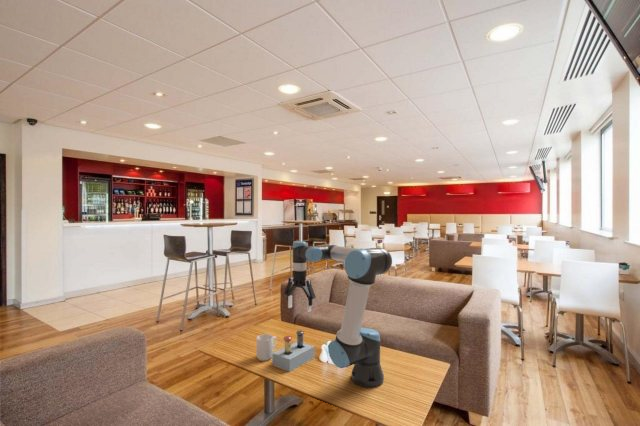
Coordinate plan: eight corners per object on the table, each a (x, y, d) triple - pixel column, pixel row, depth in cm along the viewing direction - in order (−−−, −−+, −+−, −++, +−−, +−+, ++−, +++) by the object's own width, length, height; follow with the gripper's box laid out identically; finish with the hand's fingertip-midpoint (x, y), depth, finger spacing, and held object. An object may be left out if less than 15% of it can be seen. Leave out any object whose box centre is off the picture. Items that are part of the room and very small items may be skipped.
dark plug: (305, 348, 174) (305, 331, 174) (300, 350, 170) (300, 333, 170) (299, 346, 176) (299, 330, 176) (294, 348, 173) (295, 332, 173)
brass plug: (293, 354, 166) (293, 337, 166) (287, 357, 162) (288, 339, 162) (287, 352, 168) (287, 335, 168) (282, 355, 165) (282, 337, 165)
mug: (263, 363, 167) (263, 341, 167) (253, 357, 173) (253, 337, 173) (280, 355, 175) (281, 335, 175) (270, 351, 181) (271, 331, 181)
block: (314, 357, 174) (314, 346, 174) (289, 371, 157) (289, 359, 158) (297, 351, 181) (297, 341, 181) (272, 364, 165) (272, 353, 165)
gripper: (322, 271, 169) (321, 311, 169) (287, 267, 184) (286, 304, 183) (313, 273, 163) (313, 315, 163) (278, 268, 177) (277, 307, 177)
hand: (299, 309), depth 173 cm, fingers open, 12 cm apart
